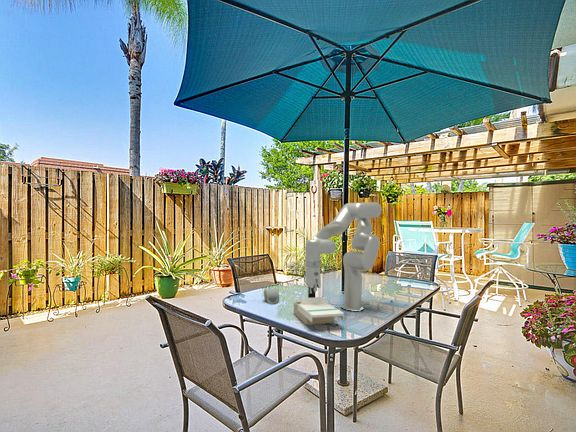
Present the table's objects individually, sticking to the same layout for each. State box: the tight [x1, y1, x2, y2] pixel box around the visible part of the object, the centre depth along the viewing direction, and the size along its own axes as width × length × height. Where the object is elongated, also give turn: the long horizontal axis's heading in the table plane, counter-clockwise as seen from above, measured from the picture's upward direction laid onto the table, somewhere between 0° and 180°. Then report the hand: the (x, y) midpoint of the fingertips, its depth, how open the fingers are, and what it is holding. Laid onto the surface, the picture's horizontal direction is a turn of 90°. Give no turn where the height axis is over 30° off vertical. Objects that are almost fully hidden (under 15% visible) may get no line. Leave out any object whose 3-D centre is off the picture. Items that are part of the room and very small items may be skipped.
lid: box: [298, 296, 345, 322], centre depth 142 cm, size 15×19×6 cm
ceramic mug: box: [263, 287, 280, 305], centre depth 178 cm, size 11×8×8 cm
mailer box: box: [293, 301, 335, 326], centre depth 150 cm, size 14×18×6 cm
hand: (311, 300), depth 152 cm, fingers closed
